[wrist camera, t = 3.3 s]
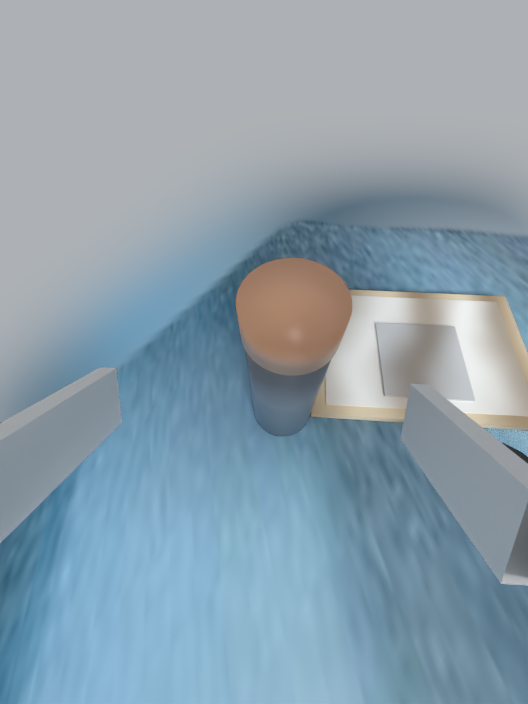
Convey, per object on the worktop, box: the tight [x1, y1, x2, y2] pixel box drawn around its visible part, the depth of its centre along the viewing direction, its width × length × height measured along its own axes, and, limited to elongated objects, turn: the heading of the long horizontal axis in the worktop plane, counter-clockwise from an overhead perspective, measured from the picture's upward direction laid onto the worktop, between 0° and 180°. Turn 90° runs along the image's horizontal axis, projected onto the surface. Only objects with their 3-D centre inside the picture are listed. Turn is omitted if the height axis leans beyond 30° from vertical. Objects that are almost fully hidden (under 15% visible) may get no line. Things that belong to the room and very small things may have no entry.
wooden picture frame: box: [310, 290, 528, 430], centre depth 23 cm, size 16×11×1 cm
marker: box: [236, 258, 352, 436], centre depth 16 cm, size 4×4×12 cm
